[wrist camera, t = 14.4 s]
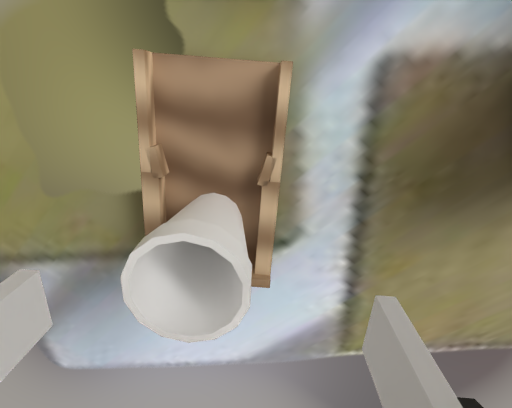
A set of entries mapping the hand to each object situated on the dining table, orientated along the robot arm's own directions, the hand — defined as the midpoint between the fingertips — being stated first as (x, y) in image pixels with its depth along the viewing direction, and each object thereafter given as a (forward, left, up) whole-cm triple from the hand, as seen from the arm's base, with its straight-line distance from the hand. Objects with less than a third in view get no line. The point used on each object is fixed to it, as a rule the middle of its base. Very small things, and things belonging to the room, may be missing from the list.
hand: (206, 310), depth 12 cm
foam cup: (+6, -3, -21) cm, 22 cm away
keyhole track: (+1, -3, -22) cm, 22 cm away
